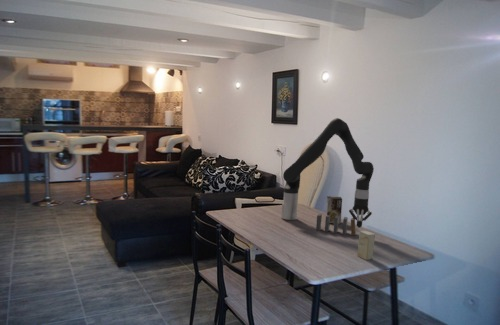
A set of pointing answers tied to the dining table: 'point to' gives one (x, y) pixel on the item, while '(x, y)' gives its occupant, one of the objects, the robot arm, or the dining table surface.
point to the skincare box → (366, 245)
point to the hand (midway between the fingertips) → (359, 227)
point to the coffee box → (334, 208)
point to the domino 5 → (353, 227)
